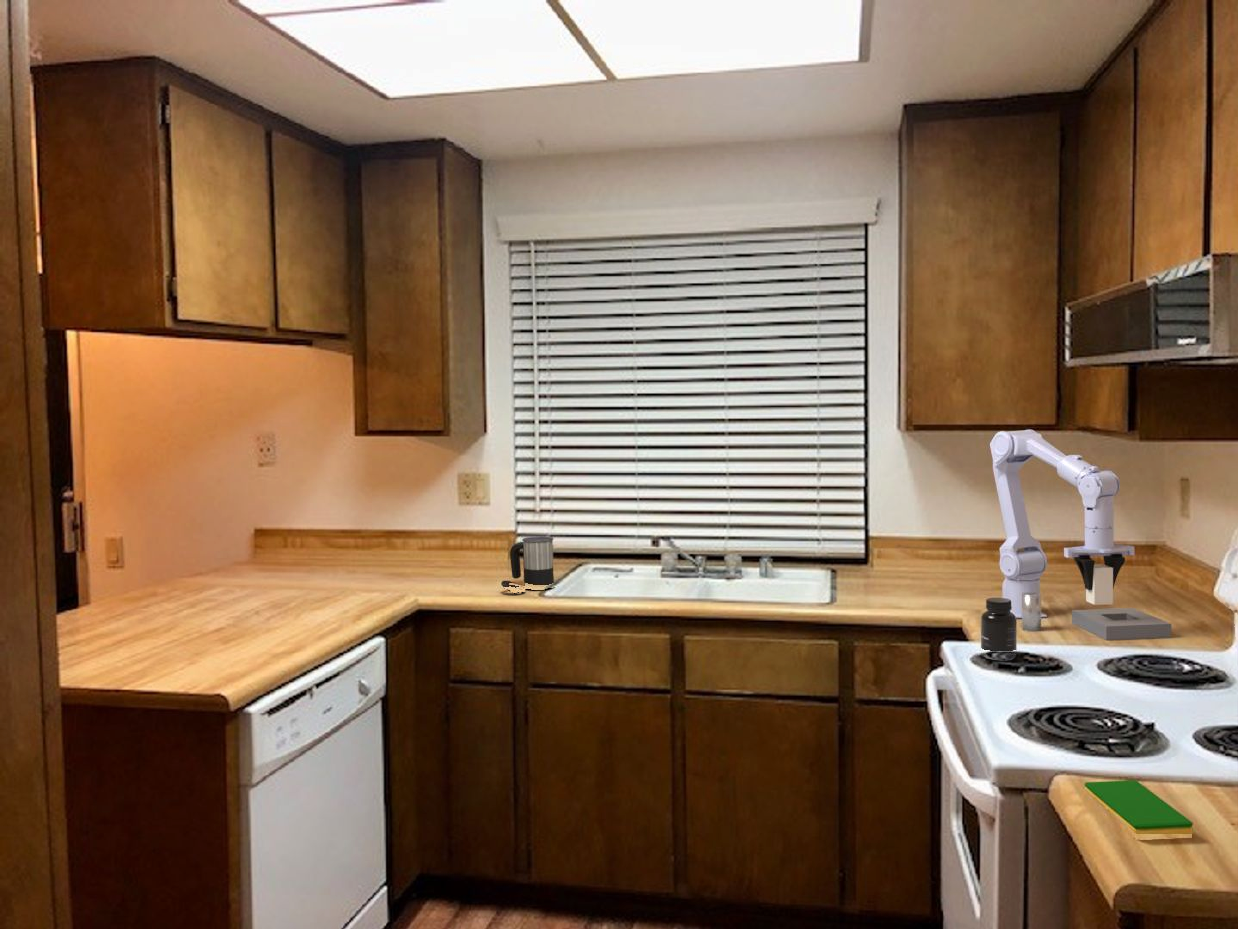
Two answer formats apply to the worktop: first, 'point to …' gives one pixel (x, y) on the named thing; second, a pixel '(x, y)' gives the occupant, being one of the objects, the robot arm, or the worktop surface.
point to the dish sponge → (1139, 808)
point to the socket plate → (1121, 624)
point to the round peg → (1031, 611)
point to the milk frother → (533, 561)
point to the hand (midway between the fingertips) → (1099, 589)
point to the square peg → (1101, 586)
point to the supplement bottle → (998, 626)
